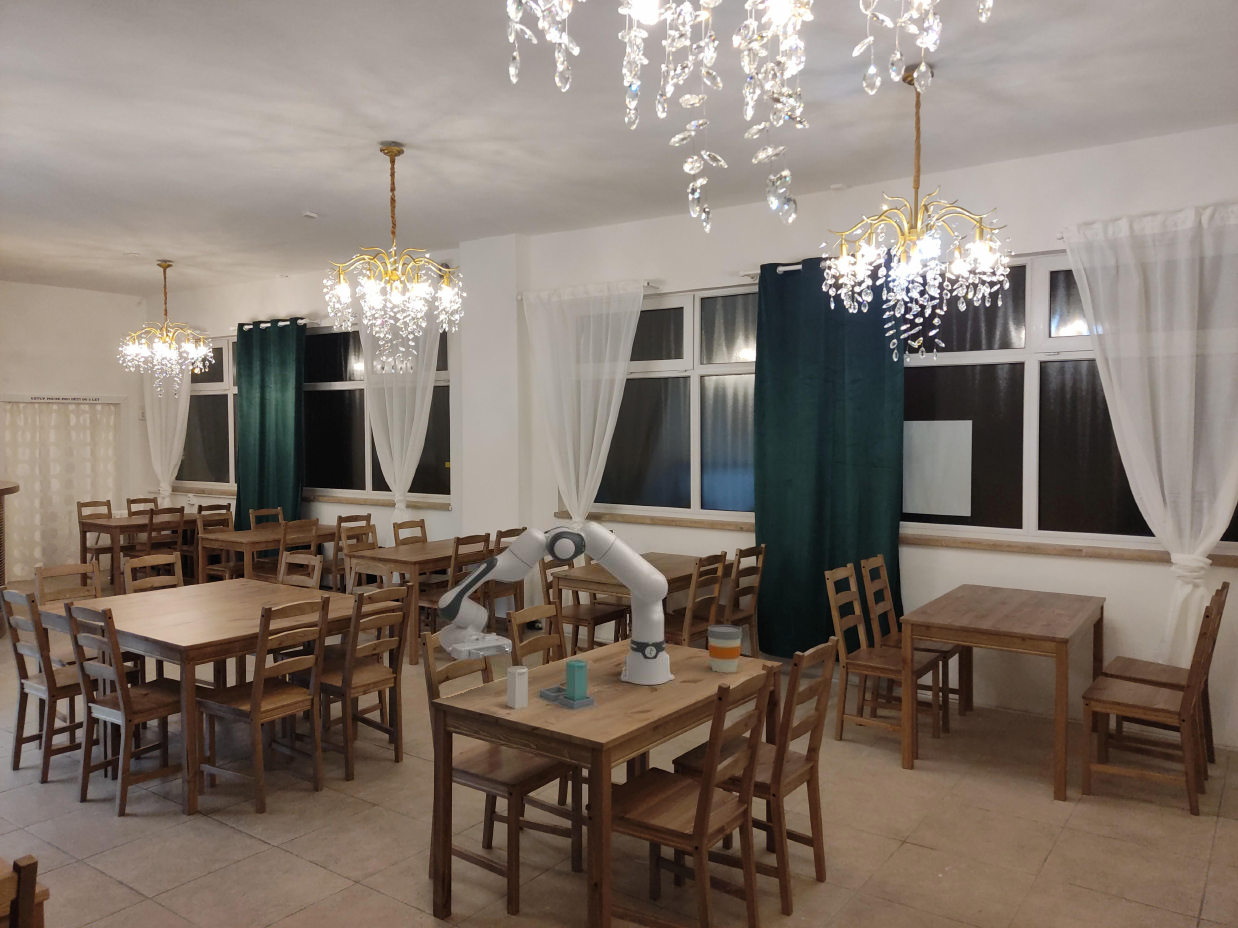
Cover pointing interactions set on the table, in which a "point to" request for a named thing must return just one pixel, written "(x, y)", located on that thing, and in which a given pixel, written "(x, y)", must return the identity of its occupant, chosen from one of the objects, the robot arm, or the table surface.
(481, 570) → the robot arm
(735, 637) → the reusable coffee cup
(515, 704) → the post
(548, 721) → the table surface
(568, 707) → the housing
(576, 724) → the table surface
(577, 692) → the teal square canister
